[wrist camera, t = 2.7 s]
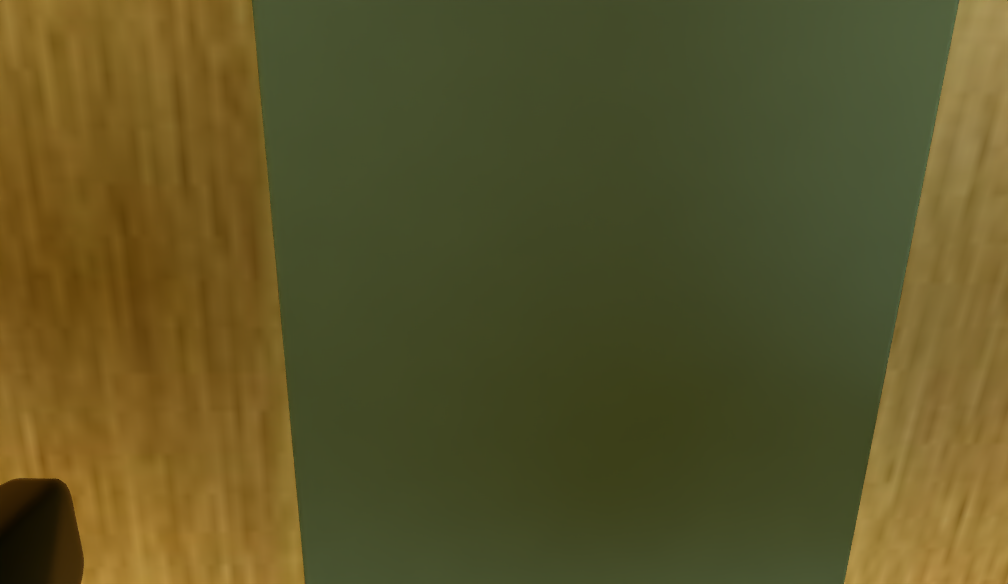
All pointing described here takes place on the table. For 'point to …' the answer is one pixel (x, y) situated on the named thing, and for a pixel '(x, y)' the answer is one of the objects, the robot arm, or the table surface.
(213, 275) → the table surface
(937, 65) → the green block
